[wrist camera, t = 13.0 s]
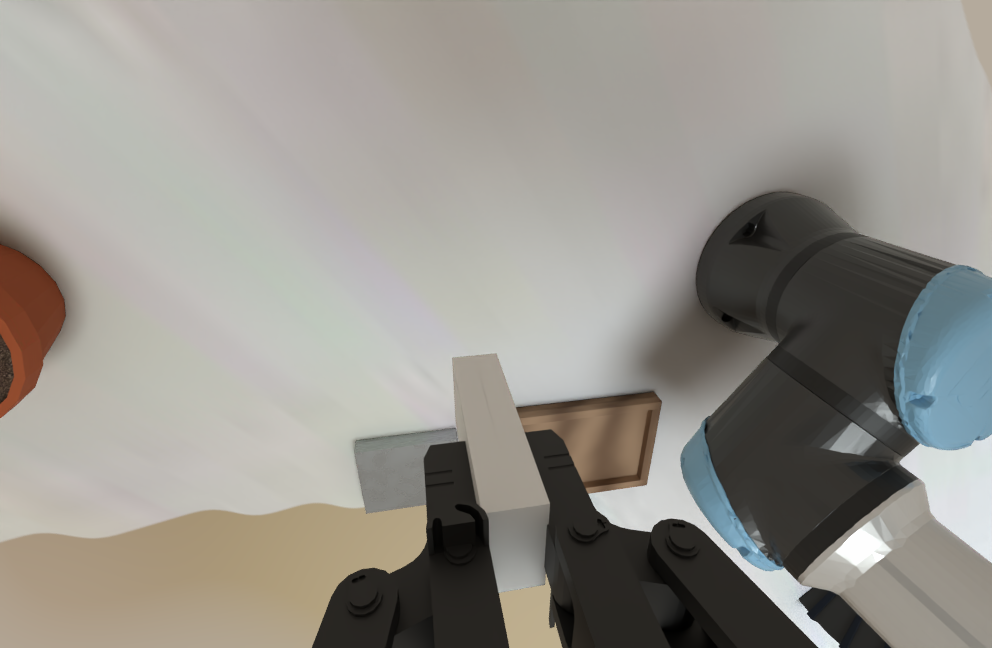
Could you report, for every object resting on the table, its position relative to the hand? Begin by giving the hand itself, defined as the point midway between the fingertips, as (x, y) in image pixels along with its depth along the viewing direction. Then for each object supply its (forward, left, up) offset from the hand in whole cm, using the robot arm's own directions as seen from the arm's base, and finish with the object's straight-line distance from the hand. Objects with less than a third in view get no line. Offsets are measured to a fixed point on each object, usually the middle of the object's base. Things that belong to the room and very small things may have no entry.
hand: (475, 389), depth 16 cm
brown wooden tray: (-13, +30, -29) cm, 44 cm away
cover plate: (+4, +30, -30) cm, 43 cm away
